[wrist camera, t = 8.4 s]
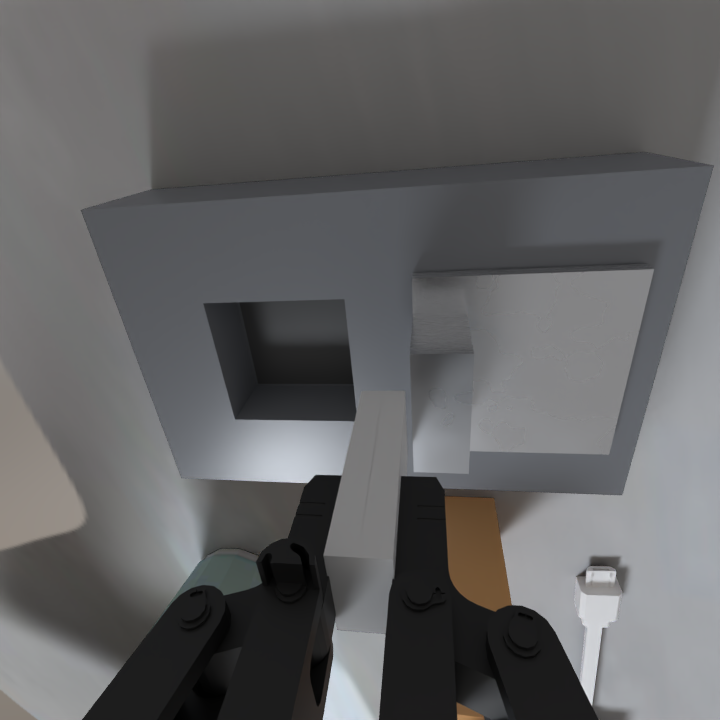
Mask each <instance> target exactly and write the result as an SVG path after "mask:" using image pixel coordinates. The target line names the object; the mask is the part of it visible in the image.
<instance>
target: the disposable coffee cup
mask: <svg viewBox="0 0 720 720" xmlns="http://www.w3.org/2000/svg"><path fill="white" fill-rule="evenodd" d="M258 557H259V556H257V555H255V554H252V553H249V552H247V551H244V550H241V549H219V550H217V551H215V552H213V553H211V554H209V555H208V556H207V557H206V558H205V559H204V560H202V561H200V562H199V564H198V565H197V566H196V568H195V569H194V571H193V572H192V573H191V575H190V576H189V577H188V579H187V580H186V582H185V583H184V584H183V586H182V587H181V589H180V590H179V591H178V593H177V594H176V596H175V597H174V598H173V600H172V601H171V602H170V604H169V605H168V607H169V606H170V605H171V603H172V602H173V601H174V600H175V599H176V598H177V597H178V596H179V595H180V594H182V593H184V592H185V591H187V590H189V589H191V588H193V587H197V586H201V585H210V586H215V587H216V588H218V589H219V590H221V591H222V593H223V595H228V594H232V593H236V592H240V591H244V590H248V589H250V588H253V587H256V586H258V585H260V584H261V583H262V581H261V578H260V574H259V571H258V568H257V564H256V560H257V559H258ZM168 607H167V608H168ZM167 608H166V609H165V611H166V610H167ZM165 611H164V612H165ZM164 612H163V614H164ZM163 614H162V615H163ZM162 615H161V616H162ZM161 616H160V618H161ZM160 618H159V619H160ZM159 619H158V620H159ZM158 620H157V622H158ZM157 622H156V623H157ZM156 623H155V624H156ZM153 627H154V626H153ZM153 627H152V628H153ZM150 631H151V630H150ZM147 635H148V634H147Z"/></svg>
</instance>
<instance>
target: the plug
mask: <svg viewBox="0 0 720 720" xmlns="http://www.w3.org/2000/svg"><path fill="white" fill-rule="evenodd" d="M445 511H446V530H447V550H448V569H449V575H450V579H451V581H452V583H453V585H454V586H455V588H456V589H457V590H458V591H459V593H460V594H461V595H463V596H464V597H465V598H466V599H468V600H469V601H471V602H473V603H475V604H477V605H480V606H482V607H485V608H487V609H490V610H492V611H495V612H496V611H497V610H498V609H500V608H503V607H505V606H508V605H512V604H511V598H510V592H509V586H508V580H507V574H506V568H505V561H504V555H503V549H502V543H501V537H500V531H499V525H498V519H497V513H496V507H495V501H494V498H479V497H455V496H445ZM457 720H485V719H484V716H483V715H481V714H479V713H477V712H475V711H473V710H471V709H469V708H467V707H465V706H463V705H461V704H459V703H457Z"/></svg>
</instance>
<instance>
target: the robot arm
mask: <svg viewBox="0 0 720 720" xmlns="http://www.w3.org/2000/svg"><path fill="white" fill-rule="evenodd" d="M407 457H408V449H407V425H406V401H405V391H361V395H360V399H359V404H358V408H357V412H356V417H355V421H354V425H353V430H352V434H351V438H350V443H349V447H348V451H347V456H346V460H345V464H344V469H343V473H342V475H315V476H314V477H313V478H312V479H311V480H310V481H309V483H308V484H307V485H306V486H305V487H304V490H303V493H302V496H301V499H300V505H299V506H298V509H297V512H296V517H295V518H294V521H293V524H292V527H291V530H290V533H289V536H288V539H281V540H279V541H277V542H274V543H272V544H270V545H269V546H268V547H267V548H266V549H264V550H263V551H262V552H261V554H260V555H259V557H258V559H257V560H256V564H257V568H258V571H259V574H260V578H261V581H262V583H261V584H260V585H258V586H256V587H253V588H250V589H248V590H244V591H240V592H236V593H232V594H228V595H223V593H222V591H221V590H219V589H218V588H216V587H215V586H210V585H201V586H197V587H193V588H191V589H189V590H187V591H185V592H184V593H182V594H180V595H179V596H178V597H177V598H176V599H175V600H174V601H173V602H172V603H171V605H170V606H169V607H168V608H167V610H166V611H165V612H164V614H163V615H162V616H161V618H160V619H159V620H158V622H157V623H156V624H155V625H154V627H153V628H152V629H151V631H150V632H149V633H148V635H147V636H146V637H145V638H144V640H143V641H142V642H141V644H140V645H139V646H138V648H137V649H136V650H135V651H134V653H133V654H132V655H131V657H130V658H129V659H128V661H127V662H126V663H125V665H124V666H123V667H122V668H121V670H120V671H119V672H118V674H117V675H116V676H115V678H114V679H113V680H112V681H111V683H110V684H109V685H108V687H107V688H106V689H105V691H104V692H103V693H102V695H101V696H100V697H99V698H98V700H97V701H96V702H95V704H94V705H93V706H92V708H91V709H90V710H89V711H88V713H87V714H86V715H85V717H84V718H83V719H82V720H323V714H324V708H325V702H326V696H327V690H328V684H329V678H330V672H331V666H332V660H333V643H332V634H333V628H334V623H335V622H336V627H337V630H342V631H354V632H366V633H378V634H386V638H385V651H384V663H383V676H382V689H381V702H380V715H379V720H457V703H459V704H461V705H463V706H465V707H467V708H469V709H471V710H473V711H475V712H477V713H479V714H481V715H483V716H484V719H485V720H598V718H597V716H596V714H595V712H594V710H593V708H592V706H591V703H590V701H589V699H588V697H587V695H586V693H585V691H584V689H583V687H582V685H581V683H580V681H579V679H578V677H577V675H576V673H575V671H574V669H573V667H572V665H571V663H570V661H569V659H568V657H567V655H566V653H565V651H564V649H563V647H562V645H561V643H560V641H559V639H558V637H557V635H556V633H555V631H554V630H553V628H552V627H551V626H550V624H549V623H548V621H547V620H546V619H545V618H543V617H542V616H541V615H539V614H538V613H537V612H536V611H534V610H531V609H529V608H526V607H523V606H515V605H508V606H505V607H503V608H500V609H498V610H497V611H496V612H495V611H492V610H490V609H487V608H485V607H482V606H480V605H477V604H475V603H473V602H471V601H469V600H468V599H466V598H465V597H464V596H463V595H461V594H460V593H459V591H458V590H457V589H456V588H455V586H454V585H453V583H452V581H451V579H450V575H449V569H448V550H447V530H446V511H445V492H444V489H443V487H442V486H441V484H440V482H439V481H438V479H437V477H419V476H407Z"/></svg>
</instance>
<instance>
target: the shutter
mask: <svg viewBox="0 0 720 720" xmlns="http://www.w3.org/2000/svg"><path fill="white" fill-rule="evenodd" d="M653 272H654V269H653V268H652V267H651V266H649V265H648V264H626V265H600V266H574V267H548V268H523V269H497V270H471V271H445V272H419V273H412V307H413V320H412V332H411V344H410V380H411V408H412V437H413V466H414V472H426V473H456V474H469V457H470V451H484V452H524V453H564V454H603V455H609V453H610V449H611V445H612V441H613V437H614V433H615V428H616V424H617V420H618V416H619V412H620V408H621V404H622V400H623V396H624V391H625V387H626V383H627V379H628V375H629V371H630V367H631V363H632V359H633V354H634V350H635V346H636V342H637V338H638V334H639V330H640V326H641V322H642V317H643V313H644V309H645V305H646V301H647V297H648V293H649V289H650V285H651V280H652V276H653Z"/></svg>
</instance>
